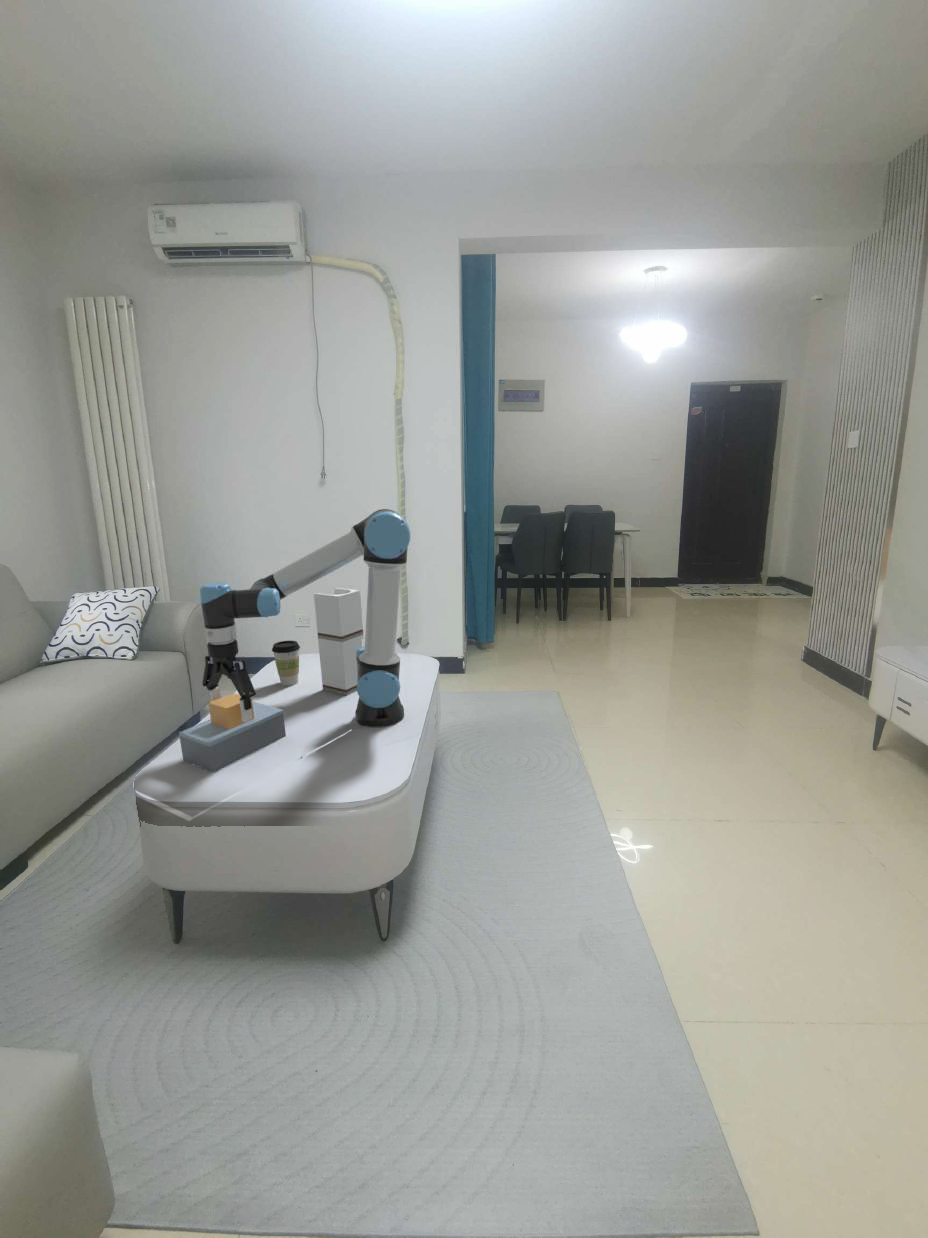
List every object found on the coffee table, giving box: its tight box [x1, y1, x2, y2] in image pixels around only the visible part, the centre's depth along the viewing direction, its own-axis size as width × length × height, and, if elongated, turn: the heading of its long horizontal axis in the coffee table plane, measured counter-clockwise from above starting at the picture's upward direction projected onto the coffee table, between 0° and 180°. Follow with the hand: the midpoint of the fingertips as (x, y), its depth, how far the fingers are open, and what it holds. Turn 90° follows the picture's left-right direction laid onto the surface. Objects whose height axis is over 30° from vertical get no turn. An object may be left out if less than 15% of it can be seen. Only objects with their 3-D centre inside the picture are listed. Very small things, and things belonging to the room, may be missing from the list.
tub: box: [178, 713, 287, 773], centre depth 164 cm, size 13×24×8 cm, turn 148°
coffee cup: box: [271, 640, 301, 687], centre depth 215 cm, size 10×10×15 cm
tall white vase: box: [313, 587, 365, 696], centre depth 206 cm, size 11×11×35 cm
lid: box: [178, 692, 284, 747], centre depth 162 cm, size 13×24×8 cm, turn 148°
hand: (232, 715), depth 162 cm, fingers open, 12 cm apart
